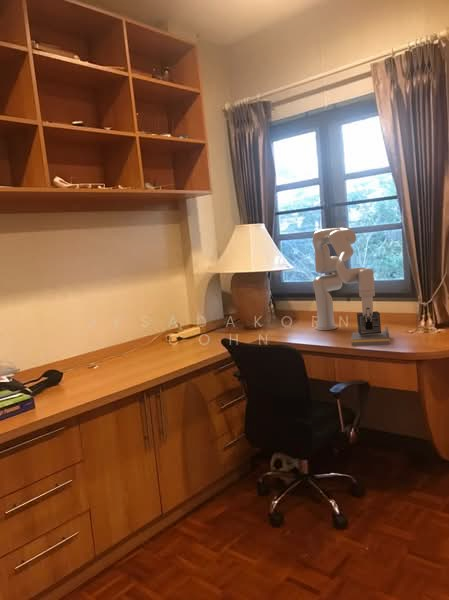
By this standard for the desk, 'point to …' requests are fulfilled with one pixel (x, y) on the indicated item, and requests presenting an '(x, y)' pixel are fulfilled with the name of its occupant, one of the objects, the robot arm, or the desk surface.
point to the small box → (375, 324)
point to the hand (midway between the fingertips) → (369, 327)
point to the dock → (371, 338)
